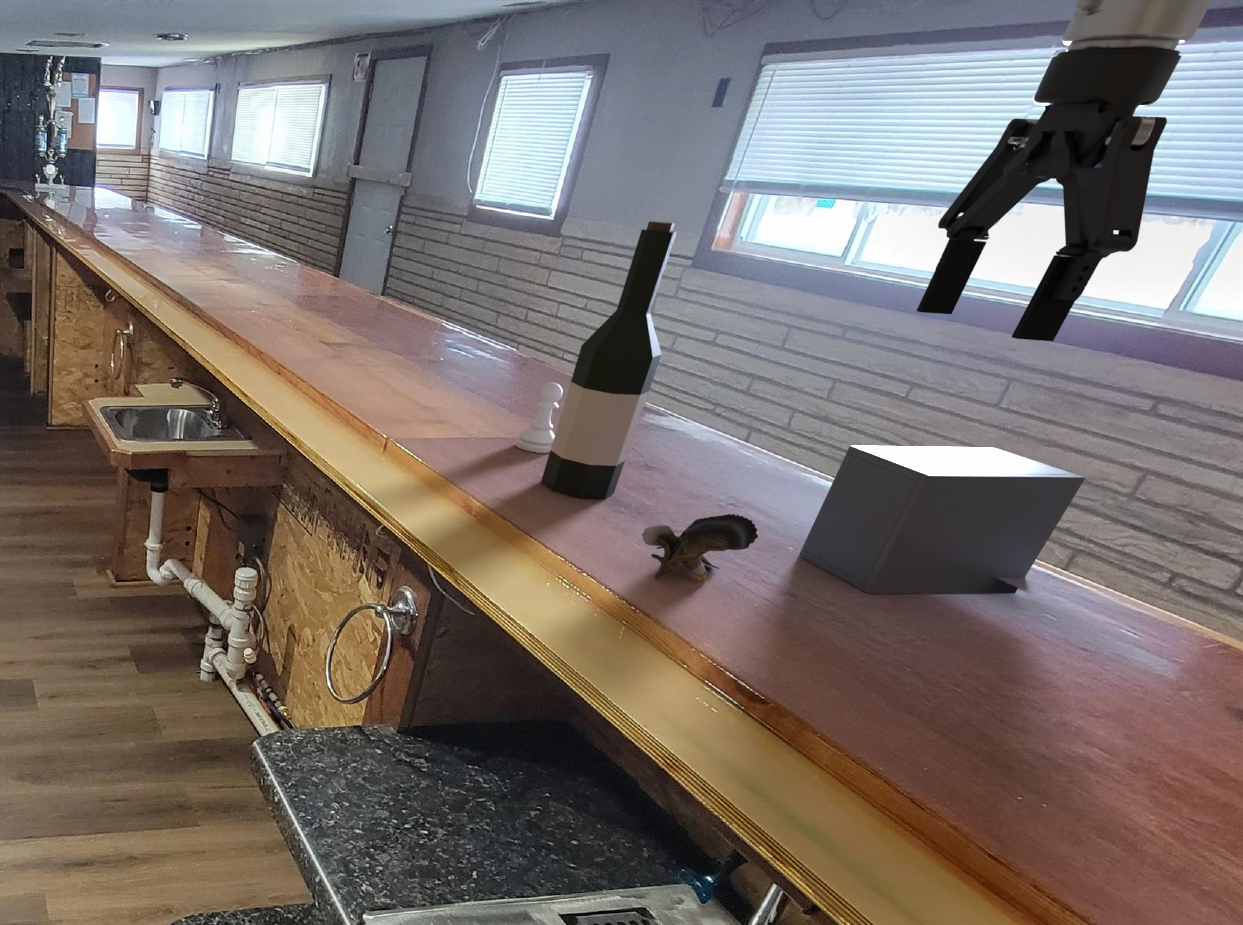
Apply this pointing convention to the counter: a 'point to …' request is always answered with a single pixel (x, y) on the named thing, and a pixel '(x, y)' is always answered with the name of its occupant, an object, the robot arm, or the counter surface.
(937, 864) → the counter surface
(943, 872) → the counter surface
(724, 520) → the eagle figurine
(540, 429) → the chess pawn
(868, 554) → the grey cardboard box
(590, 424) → the wine bottle
